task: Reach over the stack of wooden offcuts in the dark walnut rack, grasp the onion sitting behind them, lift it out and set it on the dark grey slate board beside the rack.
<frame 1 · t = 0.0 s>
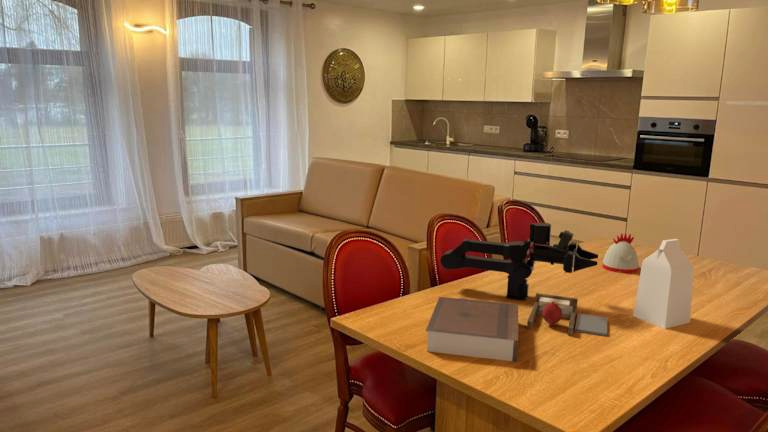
hand: (597, 259, 190), 17 cm above the table, tool horizontal, fingers open, 9 cm apart
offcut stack: (554, 314, 186), resting in rack
smartphone: (458, 309, 191), on the table
slate board: (591, 325, 178), on the table
milk: (661, 319, 184), on the table
book: (473, 338, 168), on the table
rack: (552, 320, 181), on the table
onion: (551, 325, 177), on the table
knit hat: (620, 268, 240), on the table
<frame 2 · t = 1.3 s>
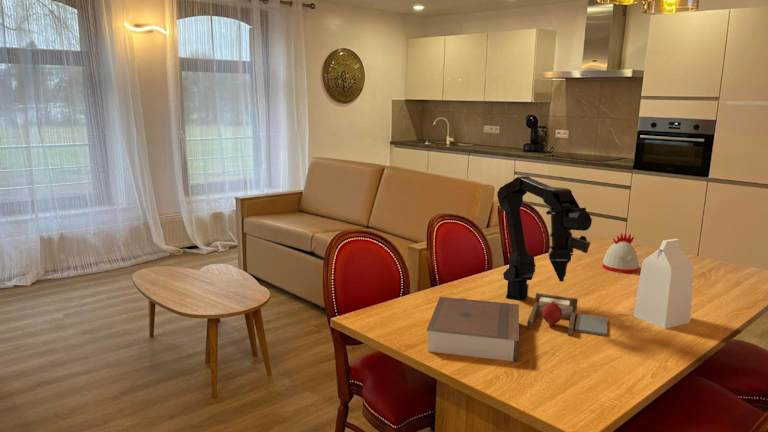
hand: (562, 278, 180), 13 cm above the table, tool pointing down, fingers open, 9 cm apart
nothing on the table moved.
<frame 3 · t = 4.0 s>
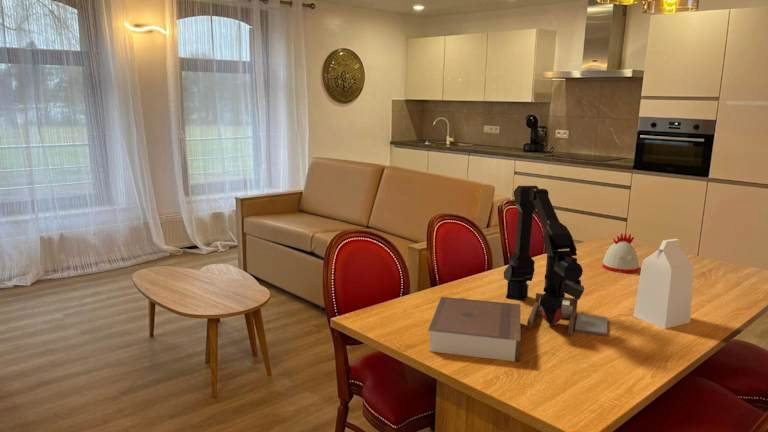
hand: (551, 320, 177), 2 cm above the table, tool pointing down, fingers closed on onion, 6 cm apart
onion: (551, 325, 177), on the table, touching gripper
everything else where it was.
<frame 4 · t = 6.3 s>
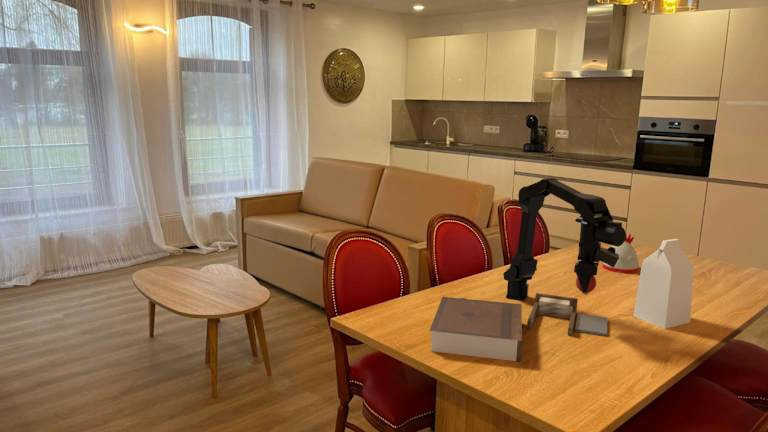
hand: (585, 289, 175), 12 cm above the table, tool pointing down, fingers closed on onion, 6 cm apart
onion: (584, 294, 175), point 10 cm above the table, touching gripper
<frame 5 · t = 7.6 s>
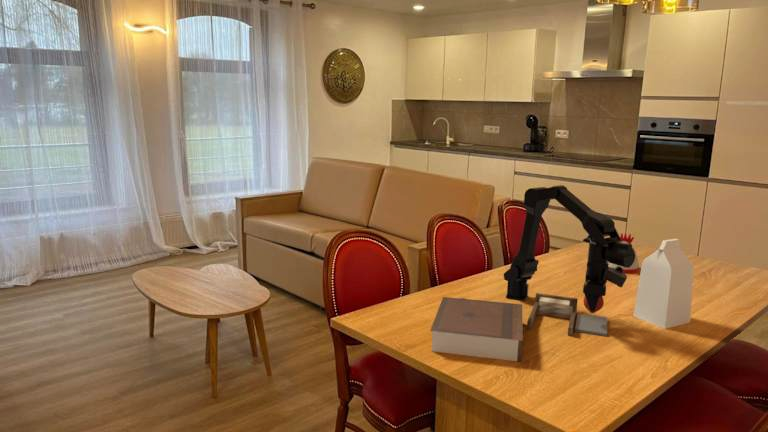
hand: (592, 308, 177), 6 cm above the table, tool pointing down, fingers closed on onion, 6 cm apart
onion: (592, 313, 177), point 4 cm above the table, touching gripper
when the fingers open (4 cm above the table, at t = 8.8 s): onion drops 1 cm, resting on slate board.
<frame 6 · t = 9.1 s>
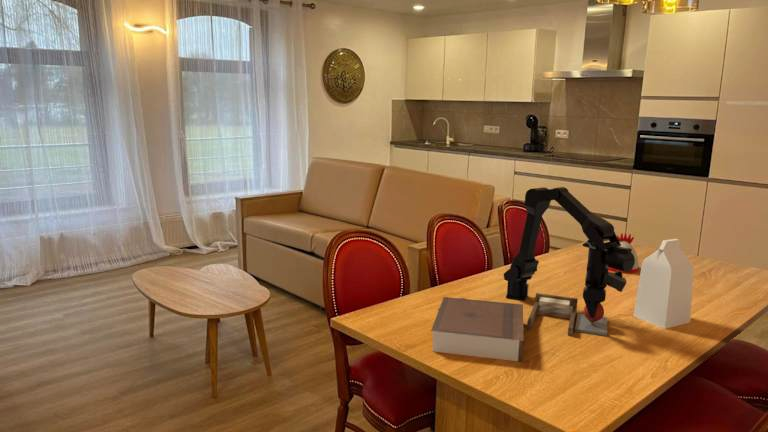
hand: (592, 312, 177), 4 cm above the table, tool pointing down, fingers open, 9 cm apart
onion: (591, 323, 178), point 1 cm above the table, touching slate board
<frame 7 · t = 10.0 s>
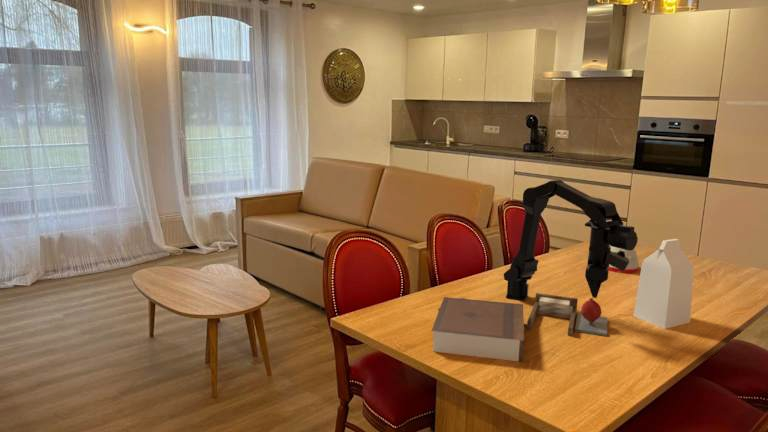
hand: (595, 293, 175), 11 cm above the table, tool pointing down, fingers open, 9 cm apart
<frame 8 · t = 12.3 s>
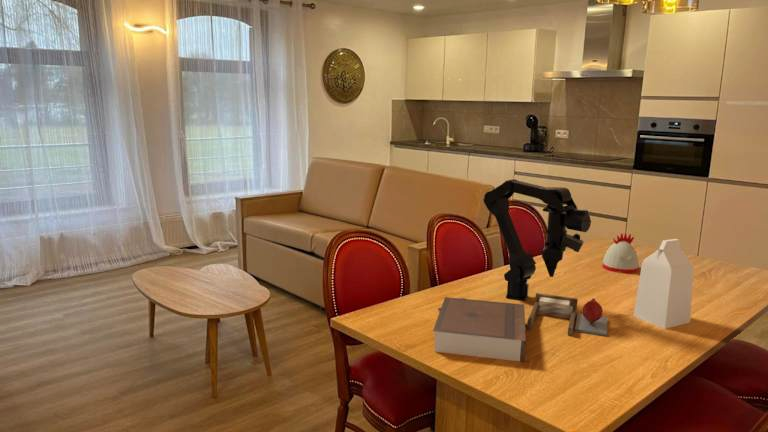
hand: (552, 272, 190), 12 cm above the table, tool pointing down, fingers open, 9 cm apart
at the end: onion 0.1 cm from the slate board (horizontally); onion touching slate board; the gripper is holding nothing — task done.
